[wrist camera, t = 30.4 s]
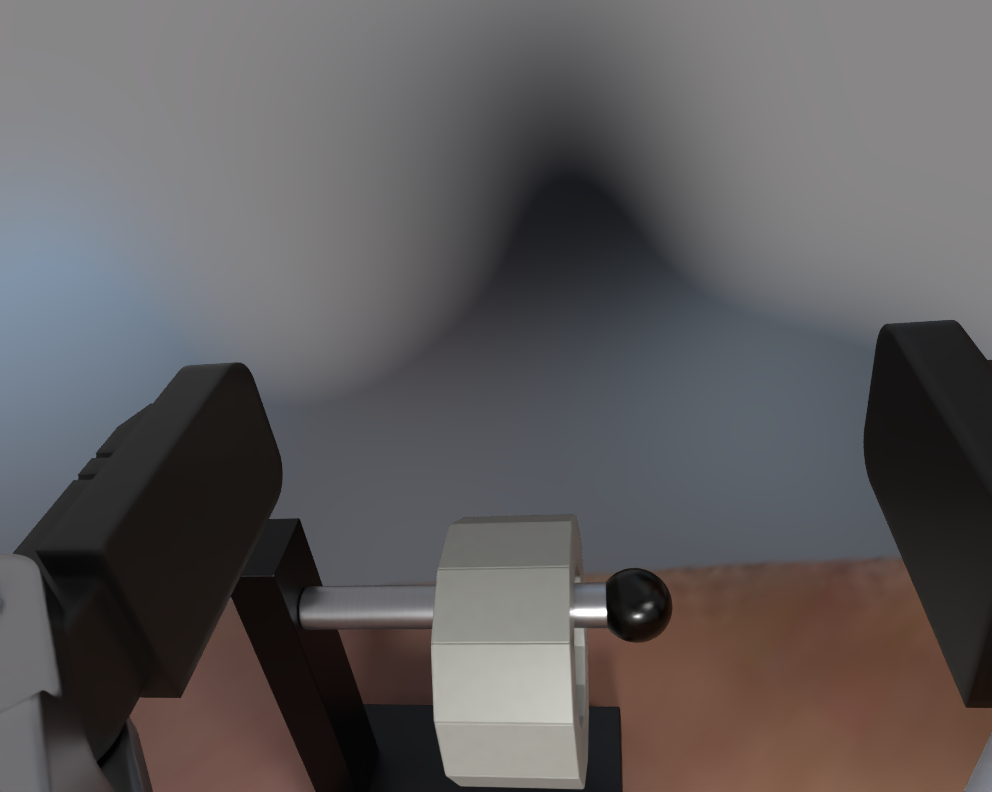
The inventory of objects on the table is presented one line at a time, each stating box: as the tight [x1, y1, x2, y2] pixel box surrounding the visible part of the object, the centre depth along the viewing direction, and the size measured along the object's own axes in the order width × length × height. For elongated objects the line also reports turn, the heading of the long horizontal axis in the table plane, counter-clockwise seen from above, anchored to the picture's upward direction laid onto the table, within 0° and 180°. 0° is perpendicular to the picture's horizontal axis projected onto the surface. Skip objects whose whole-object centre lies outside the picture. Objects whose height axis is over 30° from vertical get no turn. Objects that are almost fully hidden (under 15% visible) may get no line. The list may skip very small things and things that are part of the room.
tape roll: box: [431, 514, 589, 789], centre depth 31 cm, size 5×10×10 cm, turn 174°
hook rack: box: [231, 518, 672, 792], centre depth 33 cm, size 16×8×16 cm, turn 84°
